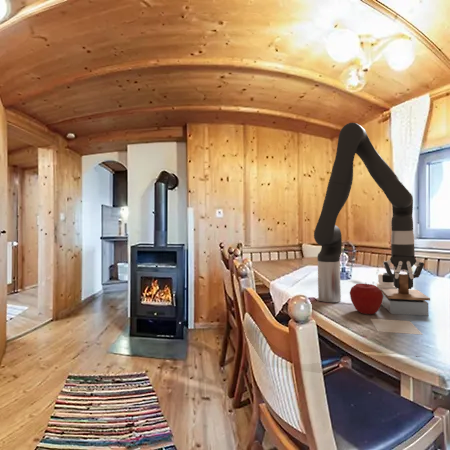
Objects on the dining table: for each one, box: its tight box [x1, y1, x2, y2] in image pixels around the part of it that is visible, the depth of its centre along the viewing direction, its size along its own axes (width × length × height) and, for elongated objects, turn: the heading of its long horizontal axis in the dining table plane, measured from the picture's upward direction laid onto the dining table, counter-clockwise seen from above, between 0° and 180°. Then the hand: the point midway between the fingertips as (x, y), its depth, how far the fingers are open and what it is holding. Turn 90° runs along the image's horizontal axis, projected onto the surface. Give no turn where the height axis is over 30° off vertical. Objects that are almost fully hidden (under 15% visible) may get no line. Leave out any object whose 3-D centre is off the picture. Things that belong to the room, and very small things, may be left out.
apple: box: [349, 283, 383, 316], centre depth 108 cm, size 11×11×12 cm
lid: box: [381, 273, 431, 302], centre depth 110 cm, size 13×13×8 cm
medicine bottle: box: [376, 272, 397, 304], centre depth 123 cm, size 7×7×12 cm
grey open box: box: [382, 294, 430, 316], centre depth 110 cm, size 12×12×5 cm
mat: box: [370, 318, 424, 335], centre depth 93 cm, size 12×12×1 cm
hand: (403, 288), depth 110 cm, fingers open, 3 cm apart
